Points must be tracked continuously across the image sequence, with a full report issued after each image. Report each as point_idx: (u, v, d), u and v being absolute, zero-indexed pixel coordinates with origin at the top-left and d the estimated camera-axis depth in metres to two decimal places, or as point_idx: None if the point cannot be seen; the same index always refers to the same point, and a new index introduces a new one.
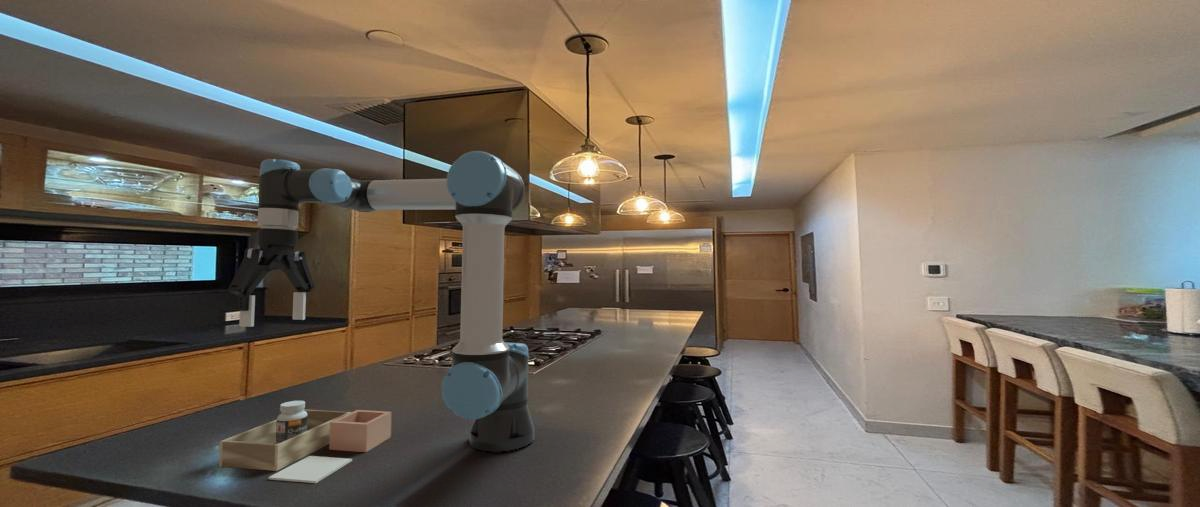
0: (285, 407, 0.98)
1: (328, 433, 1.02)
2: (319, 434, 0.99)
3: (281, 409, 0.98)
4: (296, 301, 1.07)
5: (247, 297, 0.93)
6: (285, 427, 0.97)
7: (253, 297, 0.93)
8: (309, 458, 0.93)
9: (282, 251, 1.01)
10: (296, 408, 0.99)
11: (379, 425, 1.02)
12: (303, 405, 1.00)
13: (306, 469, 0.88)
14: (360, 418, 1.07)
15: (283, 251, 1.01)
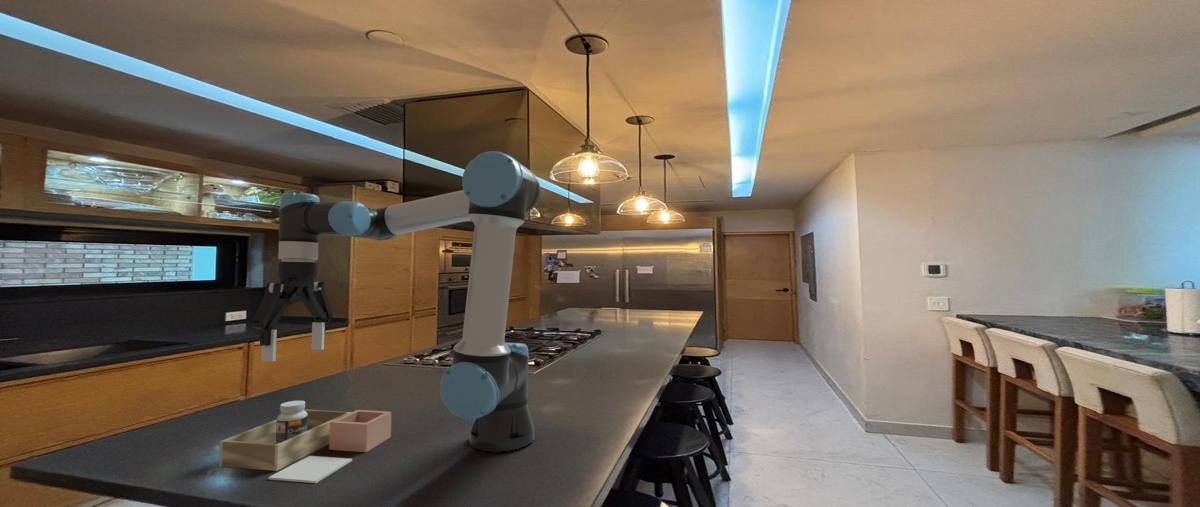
0: (285, 407, 0.98)
1: (328, 433, 1.02)
2: (319, 434, 0.99)
3: (281, 409, 0.98)
4: (315, 331, 1.07)
5: (269, 332, 0.93)
6: (285, 427, 0.97)
7: (275, 332, 0.94)
8: (309, 458, 0.93)
9: (302, 283, 1.01)
10: (296, 408, 0.99)
11: (379, 425, 1.02)
12: (303, 405, 1.00)
13: (306, 469, 0.88)
14: (360, 418, 1.07)
15: (303, 283, 1.02)
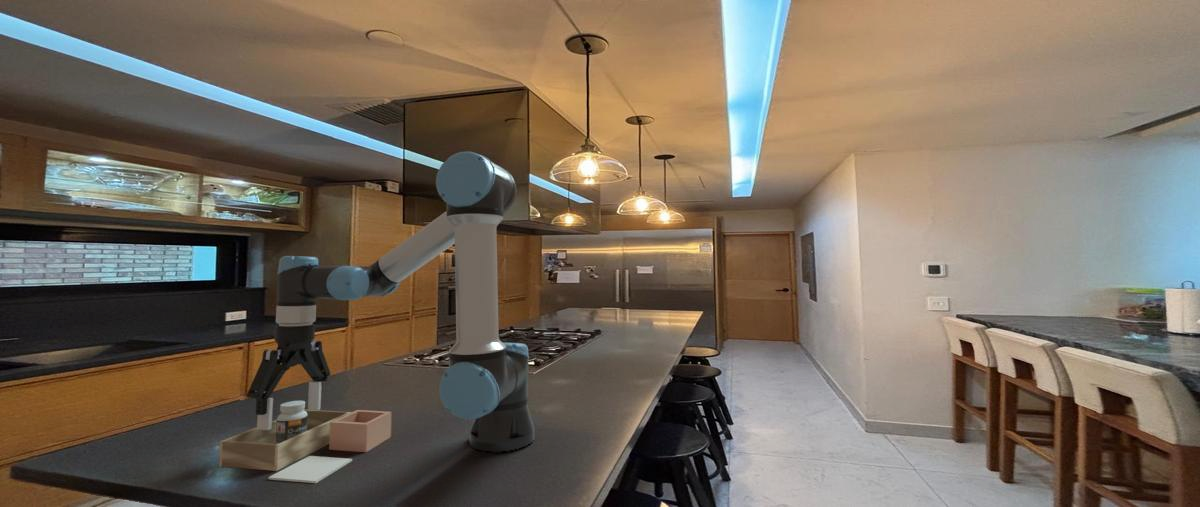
0: (285, 407, 0.98)
1: (328, 433, 1.02)
2: (319, 434, 0.99)
3: (281, 409, 0.98)
4: (311, 391, 1.07)
5: (265, 400, 0.93)
6: (285, 427, 0.97)
7: (271, 400, 0.93)
8: (309, 458, 0.93)
9: (299, 346, 1.01)
10: (296, 408, 0.99)
11: (379, 425, 1.02)
12: (303, 405, 1.00)
13: (306, 469, 0.88)
14: (360, 418, 1.07)
15: (300, 346, 1.01)
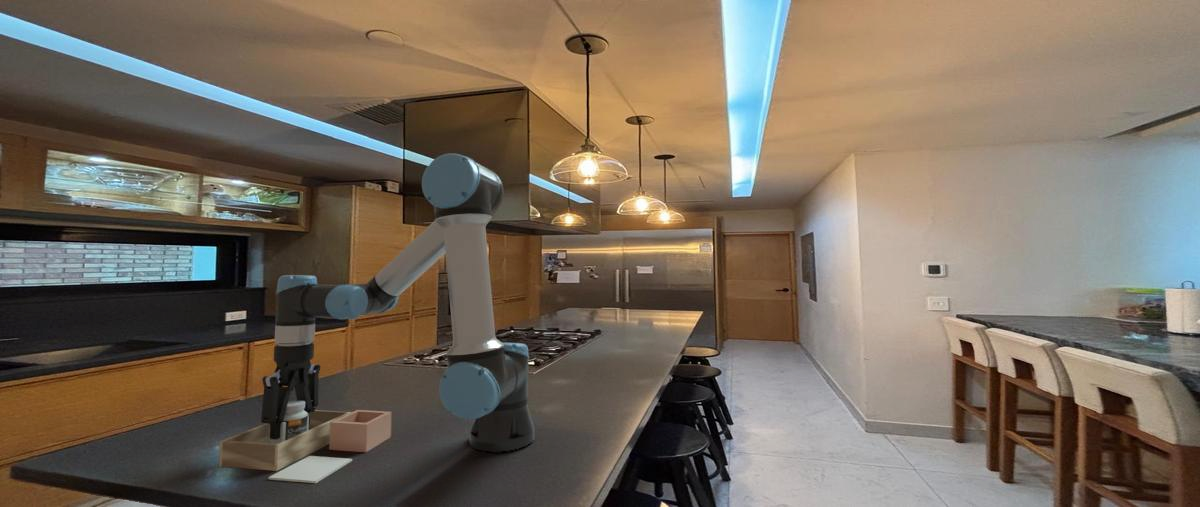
0: None
1: (328, 433, 1.02)
2: (319, 434, 0.99)
3: None
4: None
5: (279, 425, 0.96)
6: None
7: (284, 424, 0.97)
8: (309, 458, 0.93)
9: (298, 365, 1.01)
10: (296, 408, 0.99)
11: (379, 425, 1.02)
12: (303, 405, 1.00)
13: (306, 469, 0.88)
14: (360, 418, 1.07)
15: (299, 365, 1.01)
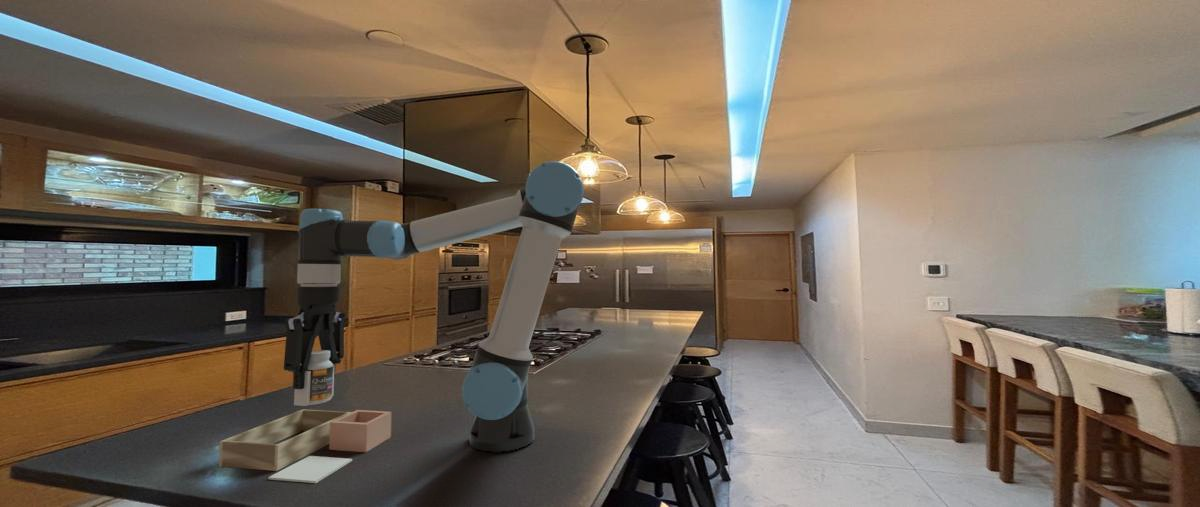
0: None
1: (328, 433, 1.02)
2: (319, 434, 0.99)
3: None
4: None
5: (303, 374, 0.86)
6: None
7: (309, 373, 0.87)
8: (309, 458, 0.93)
9: (323, 310, 0.90)
10: (321, 356, 0.89)
11: (379, 425, 1.02)
12: (328, 354, 0.90)
13: (306, 469, 0.88)
14: (360, 418, 1.07)
15: (324, 310, 0.91)
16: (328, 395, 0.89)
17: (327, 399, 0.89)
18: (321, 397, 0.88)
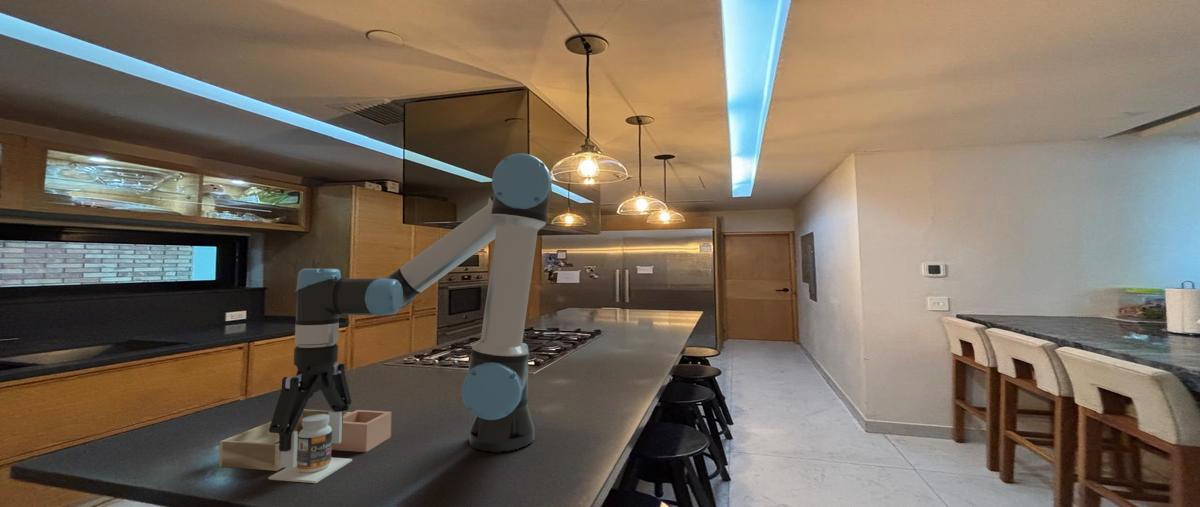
0: (308, 422, 0.87)
1: None
2: None
3: (303, 424, 0.88)
4: (331, 422, 0.95)
5: (289, 435, 0.83)
6: (308, 444, 0.87)
7: (296, 434, 0.83)
8: None
9: (321, 369, 0.90)
10: (320, 423, 0.88)
11: (379, 425, 1.02)
12: (327, 419, 0.90)
13: None
14: (360, 418, 1.07)
15: (322, 369, 0.90)
16: (326, 462, 0.89)
17: (326, 466, 0.89)
18: (320, 464, 0.88)
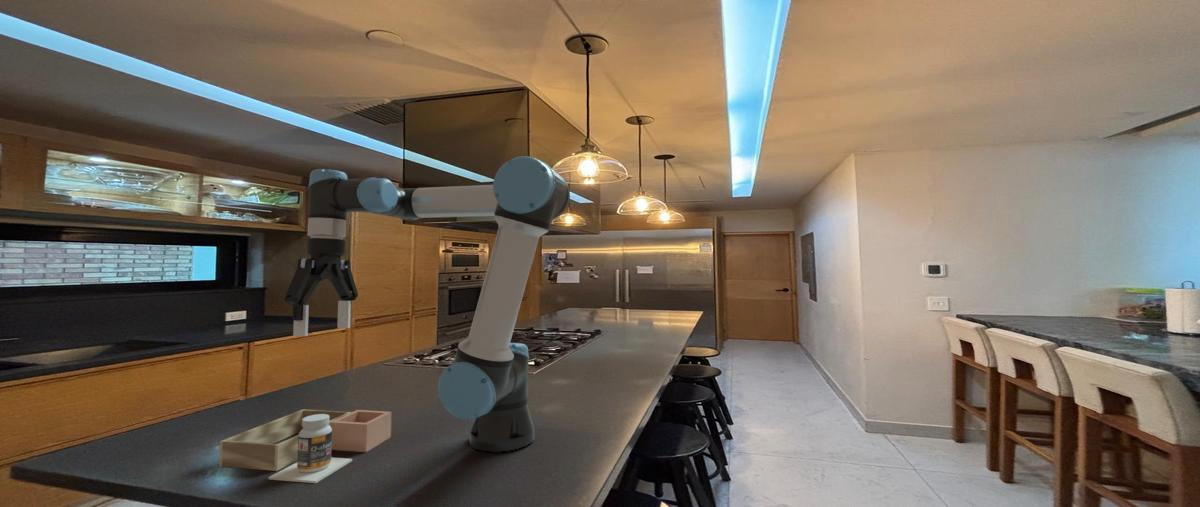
0: (308, 422, 0.87)
1: None
2: None
3: (303, 424, 0.88)
4: (341, 309, 1.07)
5: (301, 307, 0.93)
6: (308, 444, 0.87)
7: (307, 307, 0.94)
8: None
9: (331, 260, 1.02)
10: (320, 423, 0.88)
11: (379, 425, 1.02)
12: (327, 419, 0.90)
13: None
14: (360, 418, 1.07)
15: (332, 260, 1.02)
16: (326, 462, 0.89)
17: (326, 466, 0.89)
18: (320, 464, 0.88)
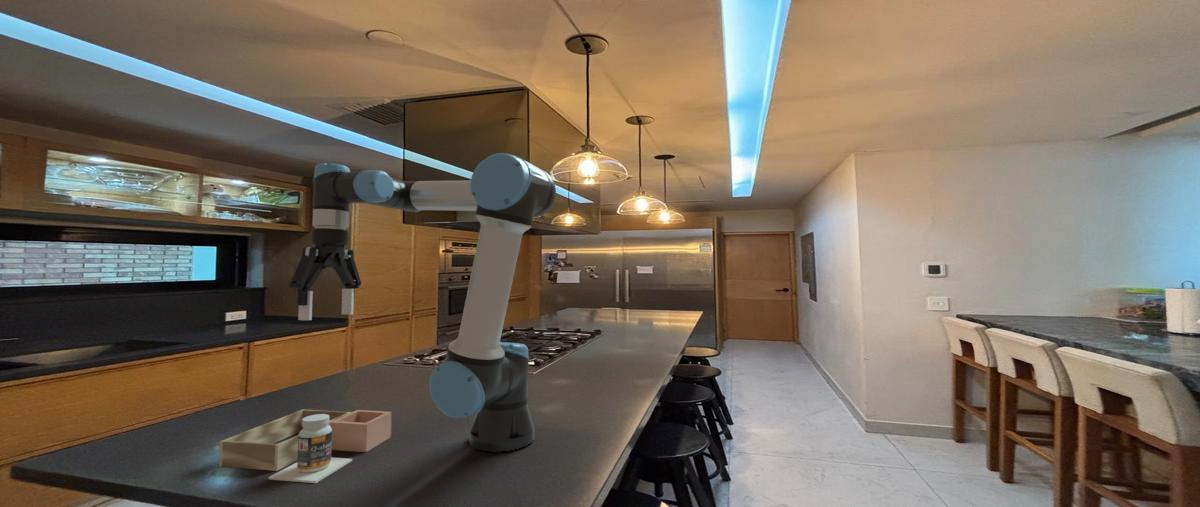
0: (308, 422, 0.87)
1: None
2: None
3: (303, 424, 0.88)
4: (345, 297, 1.13)
5: (306, 292, 0.99)
6: (308, 444, 0.87)
7: (311, 292, 1.00)
8: None
9: (334, 250, 1.07)
10: (320, 423, 0.88)
11: (379, 425, 1.02)
12: (327, 419, 0.90)
13: None
14: (360, 418, 1.07)
15: (335, 250, 1.07)
16: (326, 462, 0.89)
17: (326, 466, 0.89)
18: (320, 464, 0.88)
